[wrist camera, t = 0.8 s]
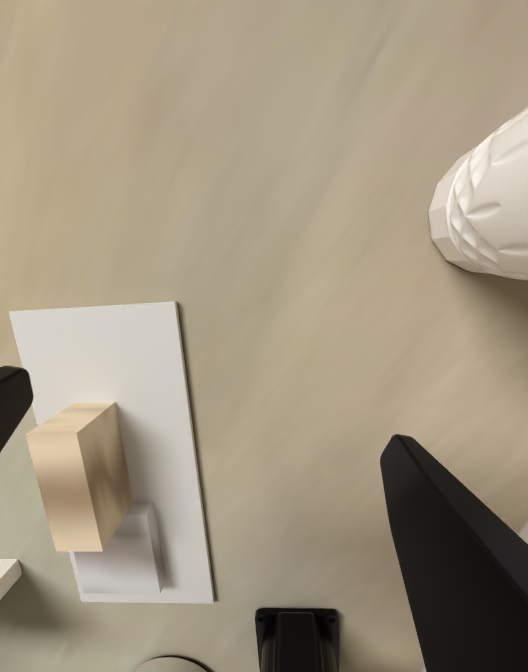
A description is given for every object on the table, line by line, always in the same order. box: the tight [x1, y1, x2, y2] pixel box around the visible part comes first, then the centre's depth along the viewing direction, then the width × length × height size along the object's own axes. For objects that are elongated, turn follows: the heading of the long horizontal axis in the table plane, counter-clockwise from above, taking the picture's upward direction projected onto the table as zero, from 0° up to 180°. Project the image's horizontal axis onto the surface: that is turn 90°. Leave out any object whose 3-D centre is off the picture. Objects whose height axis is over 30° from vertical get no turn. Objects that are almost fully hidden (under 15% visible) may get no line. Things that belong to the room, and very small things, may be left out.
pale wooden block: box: [26, 402, 166, 594], centre depth 21 cm, size 15×6×4 cm, turn 4°
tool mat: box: [9, 301, 215, 604], centre depth 22 cm, size 24×11×1 cm, turn 4°
